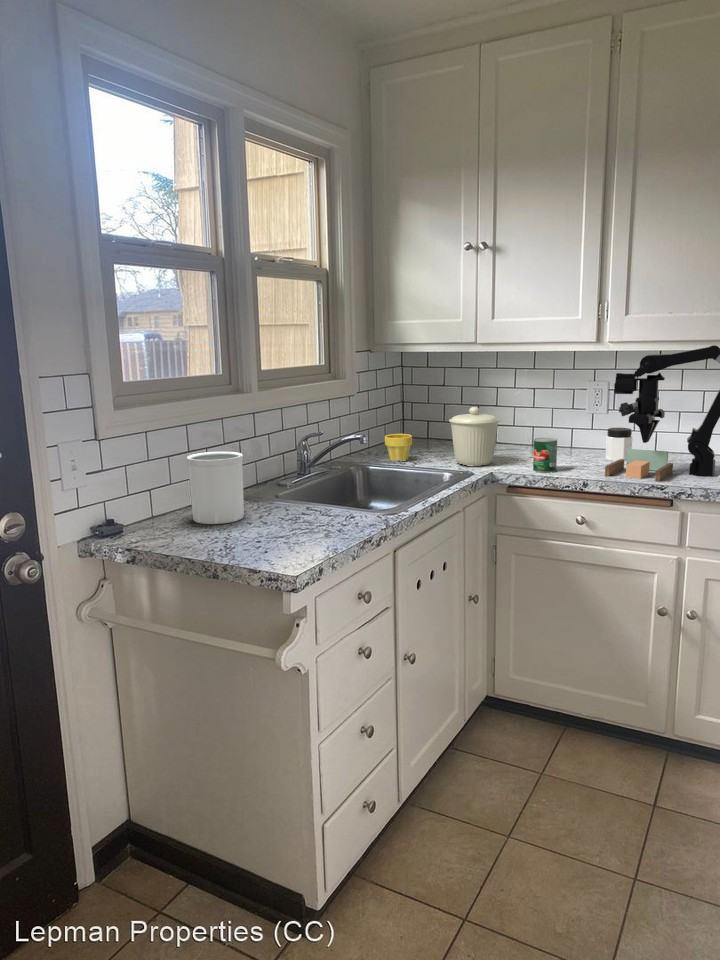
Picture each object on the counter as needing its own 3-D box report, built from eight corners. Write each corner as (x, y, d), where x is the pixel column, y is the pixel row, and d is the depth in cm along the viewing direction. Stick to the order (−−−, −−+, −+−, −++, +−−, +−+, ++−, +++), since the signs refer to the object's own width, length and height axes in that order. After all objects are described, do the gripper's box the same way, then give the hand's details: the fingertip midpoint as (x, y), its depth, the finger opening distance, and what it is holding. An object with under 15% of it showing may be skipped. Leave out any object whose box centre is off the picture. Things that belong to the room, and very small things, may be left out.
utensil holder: (210, 510, 208) (206, 449, 205) (256, 513, 203) (252, 451, 200) (180, 523, 195) (175, 458, 191) (228, 527, 190) (223, 461, 186)
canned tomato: (530, 472, 249) (531, 440, 247) (535, 468, 256) (536, 437, 254) (554, 473, 246) (554, 441, 244) (558, 469, 253) (559, 438, 250)
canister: (455, 459, 278) (454, 404, 273) (502, 460, 272) (503, 404, 267) (444, 467, 261) (444, 409, 257) (494, 469, 255) (495, 409, 251)
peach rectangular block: (648, 474, 235) (649, 461, 234) (640, 479, 228) (641, 466, 227) (634, 473, 238) (635, 460, 237) (625, 477, 231) (626, 464, 230)
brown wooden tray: (674, 477, 235) (675, 463, 234) (661, 485, 223) (661, 471, 222) (618, 471, 246) (618, 458, 245) (602, 479, 234) (603, 465, 233)
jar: (619, 464, 257) (621, 431, 255) (600, 461, 264) (602, 429, 262) (635, 461, 262) (637, 428, 260) (616, 458, 269) (618, 426, 266)
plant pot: (397, 464, 270) (397, 438, 268) (379, 461, 278) (379, 435, 276) (418, 460, 276) (417, 435, 274) (399, 457, 284) (399, 432, 282)
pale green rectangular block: (667, 471, 237) (668, 451, 236) (666, 471, 236) (667, 451, 235) (627, 467, 245) (628, 448, 243) (626, 468, 244) (627, 448, 243)
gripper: (631, 391, 245) (629, 436, 248) (613, 396, 231) (611, 444, 234) (666, 392, 239) (663, 439, 242) (649, 397, 224) (646, 447, 227)
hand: (645, 442), depth 236 cm, fingers closed
